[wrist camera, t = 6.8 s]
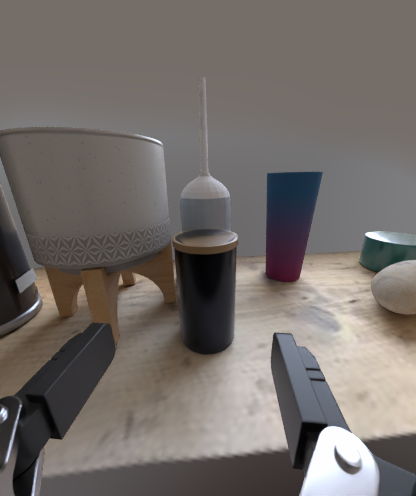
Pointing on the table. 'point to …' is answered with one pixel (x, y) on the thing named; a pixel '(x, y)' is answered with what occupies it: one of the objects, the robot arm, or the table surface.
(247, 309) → the table surface
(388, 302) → the stone
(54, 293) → the planter
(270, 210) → the cup
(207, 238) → the tall tin
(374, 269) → the squat tin
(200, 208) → the white tall piece
